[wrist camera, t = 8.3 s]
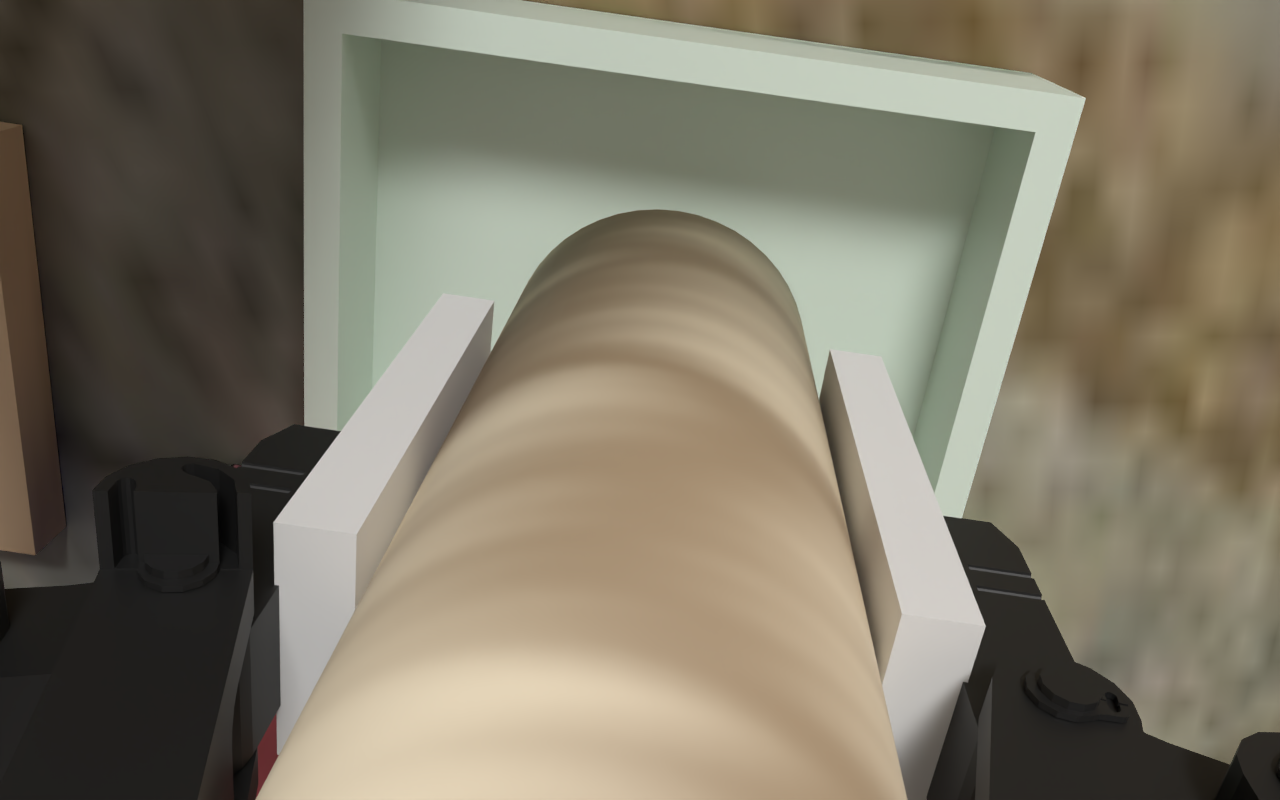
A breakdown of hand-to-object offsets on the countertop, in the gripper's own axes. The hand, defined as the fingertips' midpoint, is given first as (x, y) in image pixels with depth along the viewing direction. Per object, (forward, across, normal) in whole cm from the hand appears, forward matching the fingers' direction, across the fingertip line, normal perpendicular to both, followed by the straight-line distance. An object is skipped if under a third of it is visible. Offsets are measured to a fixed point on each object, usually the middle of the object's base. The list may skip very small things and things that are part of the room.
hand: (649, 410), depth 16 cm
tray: (+6, 0, 0) cm, 6 cm away
